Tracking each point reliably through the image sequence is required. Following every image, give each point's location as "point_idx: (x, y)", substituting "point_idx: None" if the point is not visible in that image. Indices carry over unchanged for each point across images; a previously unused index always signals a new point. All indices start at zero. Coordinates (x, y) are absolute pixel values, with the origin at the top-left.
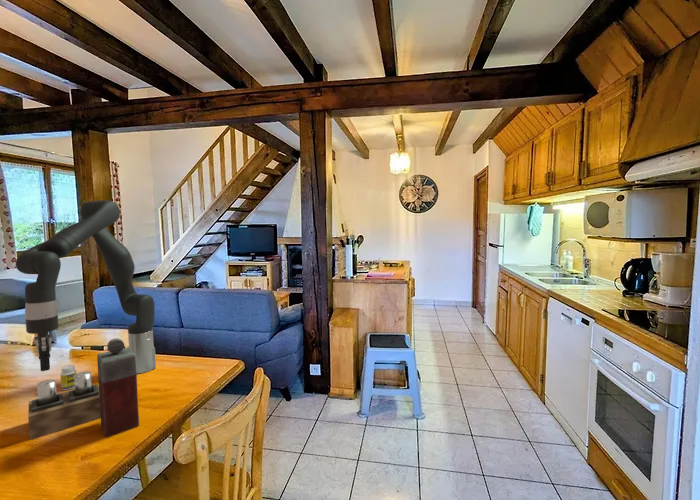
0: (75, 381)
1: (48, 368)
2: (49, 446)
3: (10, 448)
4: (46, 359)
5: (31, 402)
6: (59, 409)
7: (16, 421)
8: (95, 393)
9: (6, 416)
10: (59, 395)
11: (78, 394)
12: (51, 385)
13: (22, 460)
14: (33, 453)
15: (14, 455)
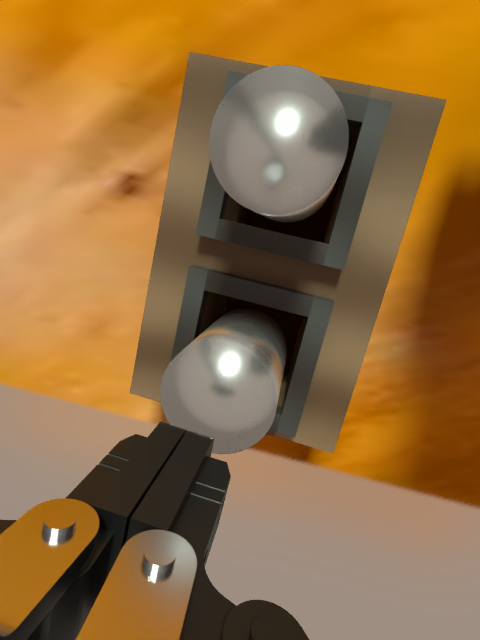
0: (293, 214)
1: (208, 452)
2: (460, 379)
3: (333, 457)
4: (198, 576)
5: (153, 389)
6: (371, 331)
7: (116, 384)
8: (384, 124)
9: (40, 391)
10: (220, 289)
11: (313, 212)
12: (275, 379)
13: (474, 463)
14: (458, 428)
15: (405, 466)
